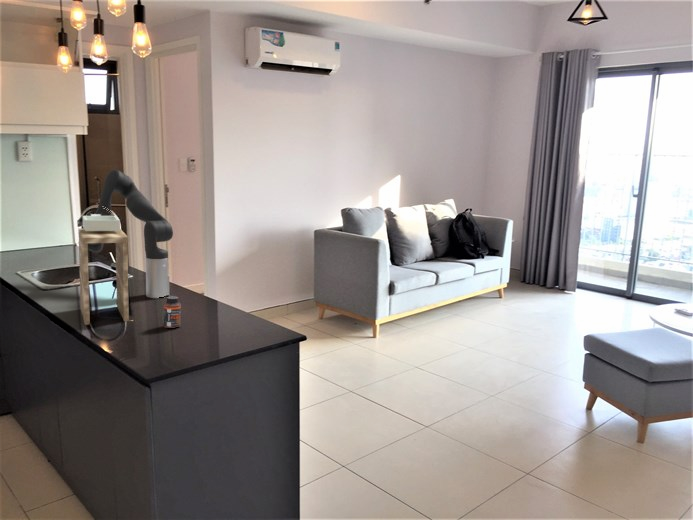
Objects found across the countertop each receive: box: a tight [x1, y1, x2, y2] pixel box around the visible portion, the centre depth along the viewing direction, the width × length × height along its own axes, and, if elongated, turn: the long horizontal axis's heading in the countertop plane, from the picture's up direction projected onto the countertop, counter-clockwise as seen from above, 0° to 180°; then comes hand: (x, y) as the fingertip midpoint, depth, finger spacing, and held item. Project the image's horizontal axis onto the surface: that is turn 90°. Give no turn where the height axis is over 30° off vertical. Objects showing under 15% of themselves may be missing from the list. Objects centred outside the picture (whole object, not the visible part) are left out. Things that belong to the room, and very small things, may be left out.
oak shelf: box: [77, 227, 130, 325], centre depth 220 cm, size 15×24×32 cm, turn 28°
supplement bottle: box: [163, 295, 182, 329], centre depth 212 cm, size 6×6×11 cm
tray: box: [82, 213, 121, 231], centre depth 228 cm, size 12×32×4 cm, turn 28°
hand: (96, 214), depth 237 cm, fingers closed on tray, 4 cm apart
